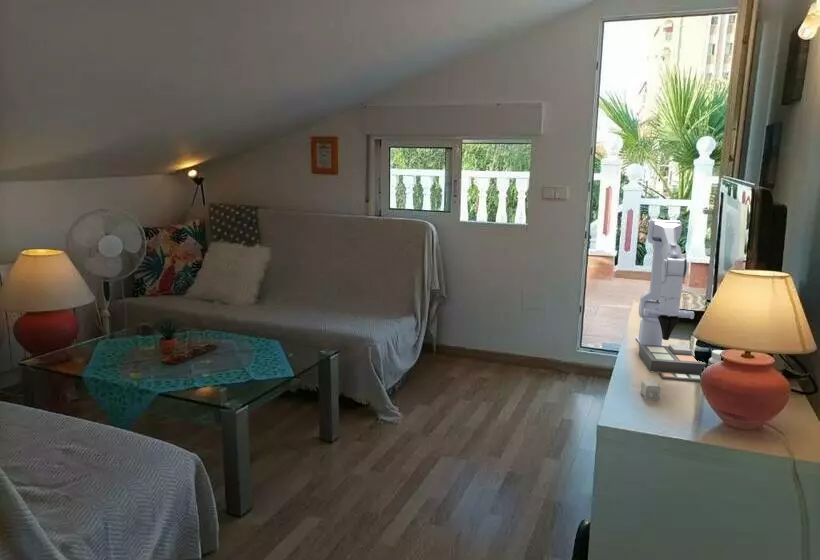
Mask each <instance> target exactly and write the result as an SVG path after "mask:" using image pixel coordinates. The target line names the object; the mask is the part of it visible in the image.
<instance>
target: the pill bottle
mask: <svg viewBox="0 0 820 560" xmlns="http://www.w3.org/2000/svg"><path fill="white" fill-rule="evenodd" d="M722 351H724V350H721V349H713V350H712V351H711V357H710V358H709V359H708V363H707V366H708V365H711V364H713V363H716V362H719V361H721V356H720V353H721V352H722Z"/></svg>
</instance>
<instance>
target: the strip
mask: <svg viewBox="0 0 820 560" xmlns="http://www.w3.org/2000/svg"><path fill="white" fill-rule="evenodd" d="M658 375H659V376H660V378H661V379H662V380H669V381H671V380H672V381H683V382H698V383H701V382H700V375H692V374H678V373H664V372H658Z"/></svg>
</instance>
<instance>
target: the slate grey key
mask: <svg viewBox="0 0 820 560" xmlns="http://www.w3.org/2000/svg"><path fill="white" fill-rule="evenodd" d="M668 346H669V350H670V351H671V352H672V353H673V354H688V355H691V352H692V351H691V350H690V349H689V348H690V347H689V346H688V345H685V344H681V345H680V344H670V343H669V344H668Z"/></svg>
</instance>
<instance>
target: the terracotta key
mask: <svg viewBox="0 0 820 560" xmlns="http://www.w3.org/2000/svg"><path fill="white" fill-rule="evenodd" d="M675 357H676V358H677V359H678V360H679V361H689V362H698V361H697V360H696V359H695V358H694V357H693V356H685V355H675Z"/></svg>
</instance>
